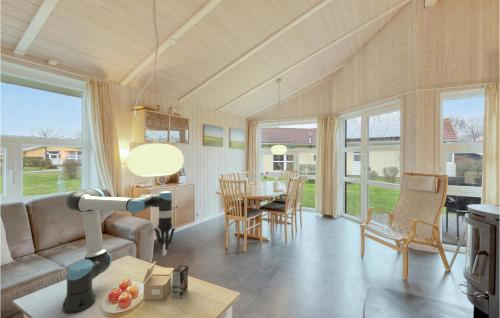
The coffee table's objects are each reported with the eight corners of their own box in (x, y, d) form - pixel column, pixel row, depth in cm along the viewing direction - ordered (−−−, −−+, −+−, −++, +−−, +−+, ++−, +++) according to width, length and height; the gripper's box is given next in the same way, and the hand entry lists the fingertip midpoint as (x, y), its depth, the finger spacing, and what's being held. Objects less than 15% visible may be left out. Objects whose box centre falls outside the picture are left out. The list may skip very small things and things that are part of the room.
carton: (143, 300, 135) (143, 284, 135) (156, 281, 156) (157, 267, 156) (164, 300, 135) (164, 284, 135) (175, 281, 156) (175, 268, 156)
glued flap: (142, 282, 136) (148, 268, 136) (149, 274, 146) (154, 261, 146) (144, 282, 136) (149, 269, 136) (151, 274, 146) (156, 261, 146)
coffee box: (181, 299, 137) (181, 272, 137) (171, 297, 139) (172, 271, 139) (188, 290, 146) (188, 265, 146) (179, 289, 148) (179, 264, 147)
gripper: (152, 218, 137) (151, 257, 137) (173, 218, 137) (173, 257, 138) (157, 215, 145) (156, 251, 145) (177, 215, 145) (177, 252, 145)
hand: (164, 254), depth 141 cm, fingers closed
